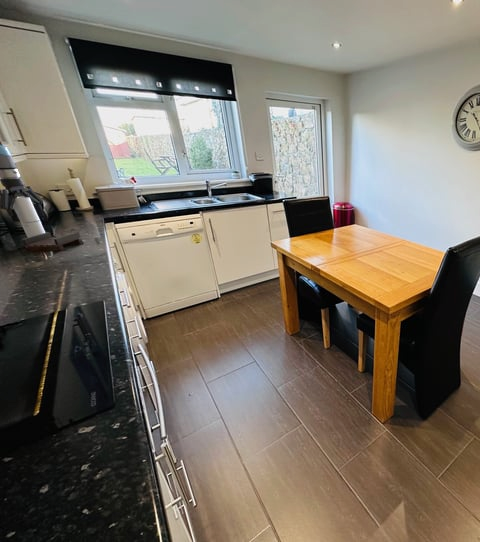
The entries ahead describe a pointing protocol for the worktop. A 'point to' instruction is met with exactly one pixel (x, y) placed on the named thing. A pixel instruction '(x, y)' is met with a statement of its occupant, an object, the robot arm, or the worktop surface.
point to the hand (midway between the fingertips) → (29, 218)
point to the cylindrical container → (28, 216)
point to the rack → (51, 242)
